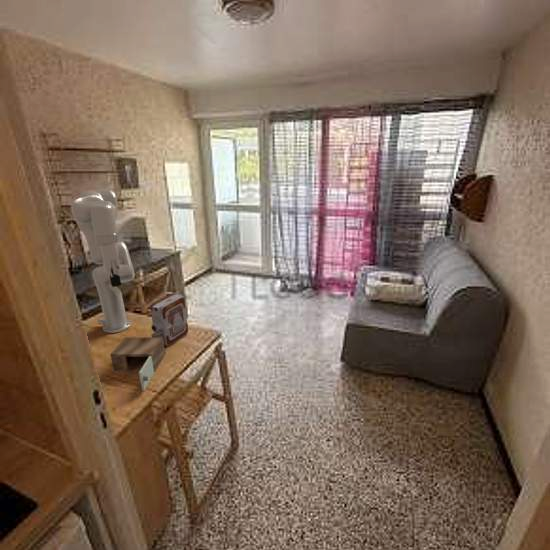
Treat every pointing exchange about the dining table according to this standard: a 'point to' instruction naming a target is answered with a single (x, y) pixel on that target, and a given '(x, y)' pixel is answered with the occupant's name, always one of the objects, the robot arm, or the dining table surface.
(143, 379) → the case door
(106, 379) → the dining table surface
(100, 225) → the robot arm
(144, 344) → the camera case
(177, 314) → the cine camera
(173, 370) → the dining table surface
